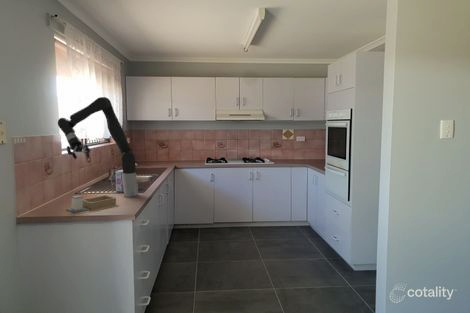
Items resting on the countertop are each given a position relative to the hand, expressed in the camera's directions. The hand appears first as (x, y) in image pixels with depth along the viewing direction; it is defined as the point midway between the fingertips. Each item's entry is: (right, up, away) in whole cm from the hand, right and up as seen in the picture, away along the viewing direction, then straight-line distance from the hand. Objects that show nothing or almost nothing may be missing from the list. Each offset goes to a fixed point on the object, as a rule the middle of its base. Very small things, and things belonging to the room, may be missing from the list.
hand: (82, 157), depth 226 cm
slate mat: (+5, -33, -18) cm, 38 cm away
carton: (+14, -31, -7) cm, 35 cm away
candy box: (+15, -26, +41) cm, 51 cm away
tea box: (+5, -32, -18) cm, 37 cm away
